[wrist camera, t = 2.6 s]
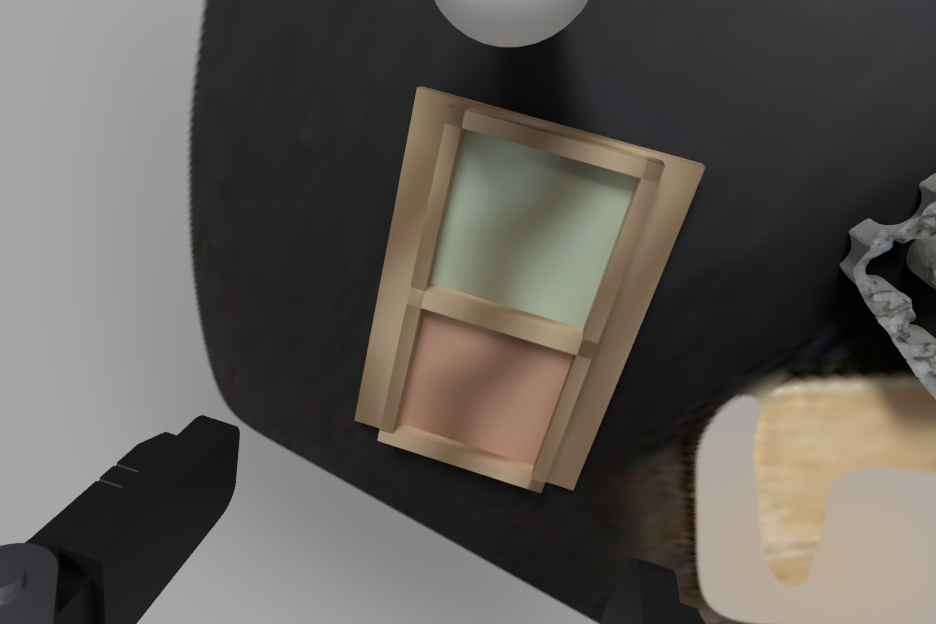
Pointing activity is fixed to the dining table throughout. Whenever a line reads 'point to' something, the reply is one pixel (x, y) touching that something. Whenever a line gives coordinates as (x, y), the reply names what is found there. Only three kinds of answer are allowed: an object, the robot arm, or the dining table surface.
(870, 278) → the egg carton
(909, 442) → the dining table surface
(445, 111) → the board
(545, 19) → the lightbulb
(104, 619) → the robot arm
